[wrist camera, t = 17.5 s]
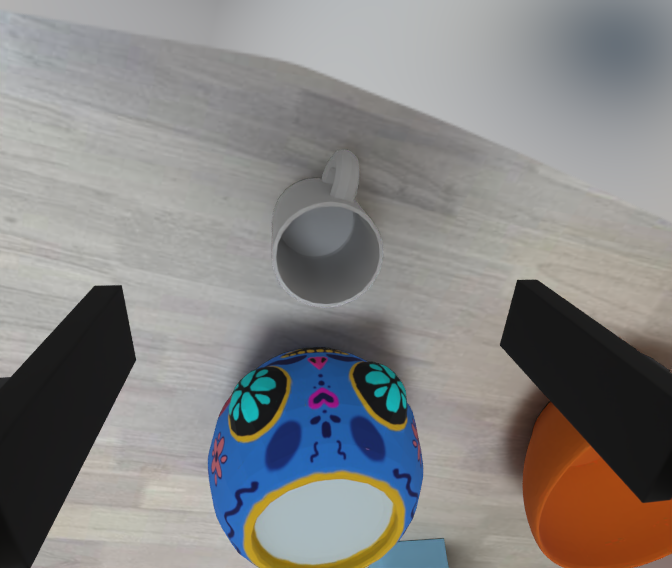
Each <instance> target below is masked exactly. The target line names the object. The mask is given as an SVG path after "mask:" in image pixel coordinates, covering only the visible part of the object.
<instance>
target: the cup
mask: <svg viewBox="0 0 672 568" xmlns="http://www.w3.org/2000/svg"><path fill="white" fill-rule="evenodd" d="M359 178H360V174H359V161H358V158H357V157H356V156H355V155H354V154H353V153H352V152H351V151H350V150H348V149H346V150H338V151H336V152H335V153H334V155H333V156H332V157H331V158H330V160H329V161H328V163H327V165H326V167H325V170H324V173H323V176H322V178H310V179H304V180H302V181H299V182H297V183H294V184H293V185H292V186H290V187H289V188H288V189H286V190H285V191H284V193H283V194H282V195H281V196H280V198H279V199H278V201H277V203H276V206H275V208H274V211H273V218H272V263H273V269H274V273H275V275H276V277H277V279H278V281H279V284H280V285H281V286H282V287H283V288H284V290H285V291H286V292H287V293H288V294H289V295H290V296H292V297H293V298H295V299H296V300H298V301H299V302H302V303H305V304H307V305H310V306H314V307H325V308H328V307H335V306H341V305H344V304H346V303H349V302H351V301H354V300H355V299H357V298H358V297H359V296H361V295H362V294H364V293H365V292H366V291H367V290H368V289H369V288H370V287H371V285H372V284H373V283H374V282H375V280H376V278H377V276H378V274H379V272H380V270H381V266H382V262H383V242H382V239H381V236H380V233H379V230H378V229H377V227H376V226H375V224H374V223H373V221H372V220H371V218H370V217H369V216H368V215H367V214H366V212H365V211H364V210H363V209H362V208H361V206H360V205H359V204H358V203H357V201H356V200H355V197H356V194H357V190H358V186H359Z"/></svg>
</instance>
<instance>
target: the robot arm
mask: <svg viewBox="0 0 672 568" xmlns="http://www.w3.org/2000/svg"><path fill="white" fill-rule="evenodd" d="M500 346H501V347H502V348H503V349H504V350H505V351H506V353H507V354H508V355H509V356H510V357H511V358H512V359H513V360H514V361H515V363H516V364H517V365H518V366H519V367H520V368H521V369H522V370H523V371H524V373H525V374H526V375H527V376H528V377H529V378H530V379H531V380H532V381H533V382H534V384H535V385H536V386H537V387H538V388H539V389H540V390H541V391H542V392H543V394H544V395H545V396H546V397H547V398H548V399H549V400H550V401H551V402H552V403H553V405H554V406H555V407H556V408H557V409H558V410H559V411H560V412H561V413H562V415H563V416H564V417H565V418H566V419H567V420H568V421H569V422H570V423H571V424H572V426H573V427H574V428H575V429H576V430H577V431H578V432H579V433H580V434H581V436H582V437H583V438H584V439H585V440H586V441H587V442H588V443H589V444H590V445H591V447H592V448H593V449H594V450H595V451H596V452H597V453H598V454H599V455H600V457H601V458H602V459H603V460H604V461H605V462H606V463H607V464H608V465H609V467H610V468H611V469H612V470H613V471H614V472H615V473H616V474H617V475H618V476H619V478H620V479H621V480H622V481H623V482H624V483H625V484H626V485H627V486H628V488H629V489H630V490H631V491H632V492H633V493H634V494H635V495H636V496H637V497H638V499H639V500H640V501H641V502H642V503H649V502H658V501H667V500H671V499H672V373H670V372H669V371H670V370H668V369H667V368H665V367H664V366H662V365H661V364H660V363H658V362H657V361H655V360H654V359H652V358H650V357H648V356H646V355H644V354H642V353H640V352H639V351H638V350H636V349H635V348H633V347H632V346H630V345H629V344H628V343H626V342H625V341H623V340H622V339H621V338H619V337H618V336H616V335H615V334H613V333H612V332H611V331H609V330H608V329H606V328H605V327H603V326H602V325H601V324H599V323H598V322H596V321H595V320H594V319H592V318H591V317H589V316H588V315H586V314H585V313H584V312H582V311H581V310H579V309H578V308H576V307H575V306H574V305H572V304H571V303H569V302H568V301H567V300H565V299H564V298H562V297H561V296H559V295H558V294H557V293H555V292H554V291H552V290H551V289H550V288H548V287H547V286H545V285H544V284H542V283H541V282H540V281H538V280H517V283H516V287H515V290H514V294H513V298H512V302H511V305H510V309H509V313H508V316H507V320H506V324H505V328H504V331H503V335H502V339H501V343H500ZM135 361H136V357H135V352H134V346H133V341H132V336H131V331H130V326H129V320H128V315H127V310H126V305H125V300H124V294H123V289H122V285H112V286H94V287H93V288H92V289H91V290H90V291H89V292H88V294H87V295H86V296H85V297H84V298H83V299H82V300H81V301H80V302H79V303H78V304H77V306H76V307H75V308H74V309H73V310H72V311H71V312H70V313H69V314H68V315H67V316H66V318H65V319H64V320H63V321H62V322H61V323H60V324H59V325H58V326H57V327H56V328H55V330H54V331H53V332H52V333H51V334H50V335H49V336H48V337H47V338H46V339H45V340H44V342H43V343H42V344H41V345H40V346H39V347H38V348H37V349H36V350H35V351H34V352H33V354H32V355H31V356H30V357H29V358H28V359H27V360H26V361H25V362H24V363H23V364H22V366H21V367H20V368H19V369H18V370H17V371H16V372H15V373H14V374H13V375H12V376H11V377H5V378H0V568H31V566H32V564H33V562H34V560H35V558H36V556H37V554H38V552H39V550H40V548H41V546H42V544H43V542H44V540H45V538H46V536H47V535H48V533H49V531H50V529H51V527H52V525H53V523H54V521H55V519H56V517H57V515H58V513H59V511H60V509H61V507H62V505H63V503H64V501H65V499H66V497H67V495H68V493H69V491H70V489H71V487H72V485H73V483H74V481H75V479H76V477H77V475H78V473H79V471H80V469H81V467H82V466H83V464H84V462H85V460H86V458H87V456H88V454H89V452H90V450H91V448H92V446H93V444H94V442H95V440H96V438H97V436H98V434H99V432H100V430H101V428H102V426H103V424H104V422H105V420H106V418H107V416H108V414H109V412H110V410H111V408H112V406H113V404H114V402H115V400H116V398H117V397H118V395H119V393H120V391H121V389H122V387H123V385H124V383H125V381H126V379H127V377H128V375H129V373H130V371H131V369H132V367H133V365H134V363H135Z"/></svg>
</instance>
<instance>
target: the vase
mask: <svg viewBox="0 0 672 568" xmlns="http://www.w3.org/2000/svg"><path fill="white" fill-rule="evenodd" d="M369 568H449V566H448V561H447V556H446V549H445V542H444V539H430V540H415V541H399V542H397V544H396V545H395V546H393V547H392V548H391V549H390V550H389V551H388V552H387V553H386V554H385V555H384V556H383V557H382V558H381V559H379V560H377V561H376V562H374V563H372V564H370V565H369Z"/></svg>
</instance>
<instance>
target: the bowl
mask: <svg viewBox="0 0 672 568" xmlns="http://www.w3.org/2000/svg"><path fill="white" fill-rule="evenodd" d="M523 498H524V506H525V511H526V515H527V519H528V523H529V526H530V528H531V531H532V534H533V536H534V538H535V541H536V543H537V544H538V546H539V548H540V549H541V551H542V552H543V553H544V554H545V555H546V556H547V557H548V558H549V559H550V560H551V561H553V562H554V563H556V564H557V565H559V566H561V567H564V568H633V567H638V566H641V565H644V564H647V563H650V562H653V561H656V560H658V559H661V558H663V557H665V556H667V555H670V554H672V499H671V500H667V501H658V502H649V503H642V502H641V501H640V500H639V499H638V497H637V496H636V495H635V494H634V493H633V492H632V491H631V490H630V489H629V488H628V486H627V485H626V484H625V483H624V482H623V481H622V480H621V479H620V478H619V476H618V475H617V474H616V473H615V472H614V471H613V470H612V469H611V468H610V467H609V465H608V464H607V463H606V462H605V461H604V460H603V459H602V458H601V457H600V455H599V454H598V453H597V452H596V451H595V450H594V449H593V448H592V447H591V445H590V444H589V443H588V442H587V441H586V440H585V439H584V438H583V437H582V436H581V434H580V433H579V432H578V431H577V430H576V429H575V428H574V427H573V426H572V424H571V423H570V422H569V421H568V420H567V419H566V418H565V417H564V416H563V415H562V413H561V412H560V411H559V410H558V409H557V408H556V407H555V406H554V405H553V403H552V402H550V403H549V404H548V405H547V406H546V407H545V408H544V409H543V411H542V412H541V414H540V415H539V417H538V418H537V420H536V422H535V425H534V427H533V431H532V437H531V440H530V443H529V445H528V449H527V453H526V457H525V462H524V470H523Z"/></svg>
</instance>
